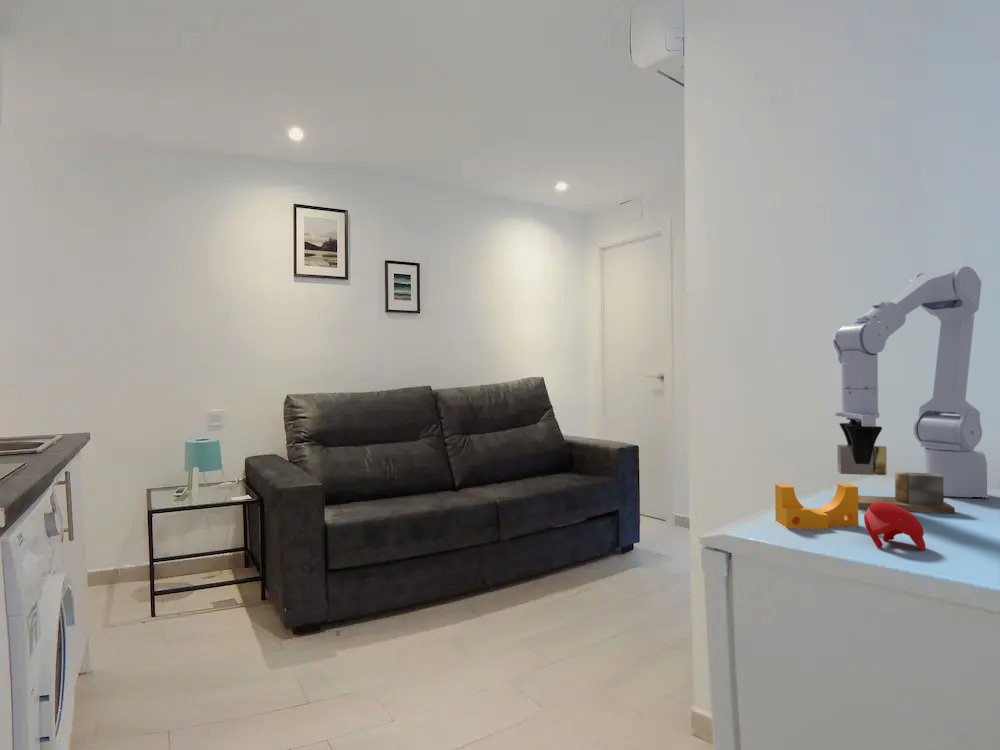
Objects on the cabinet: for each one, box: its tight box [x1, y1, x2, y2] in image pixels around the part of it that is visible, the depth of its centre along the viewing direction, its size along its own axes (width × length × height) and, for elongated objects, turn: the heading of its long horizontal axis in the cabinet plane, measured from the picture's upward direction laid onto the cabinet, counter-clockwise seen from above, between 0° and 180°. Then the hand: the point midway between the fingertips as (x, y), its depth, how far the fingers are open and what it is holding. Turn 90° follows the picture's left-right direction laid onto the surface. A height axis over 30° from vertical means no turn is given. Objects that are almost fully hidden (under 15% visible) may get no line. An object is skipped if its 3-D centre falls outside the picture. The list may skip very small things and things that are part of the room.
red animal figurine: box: [863, 502, 926, 552], centre depth 86 cm, size 8×6×6 cm
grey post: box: [837, 444, 888, 476], centre depth 111 cm, size 8×3×5 cm, turn 70°
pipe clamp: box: [774, 483, 860, 530], centre depth 97 cm, size 12×4×6 cm, turn 87°
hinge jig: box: [858, 472, 956, 514], centre depth 109 cm, size 17×7×6 cm, turn 70°
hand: (860, 462), depth 111 cm, fingers closed on grey post, 3 cm apart
